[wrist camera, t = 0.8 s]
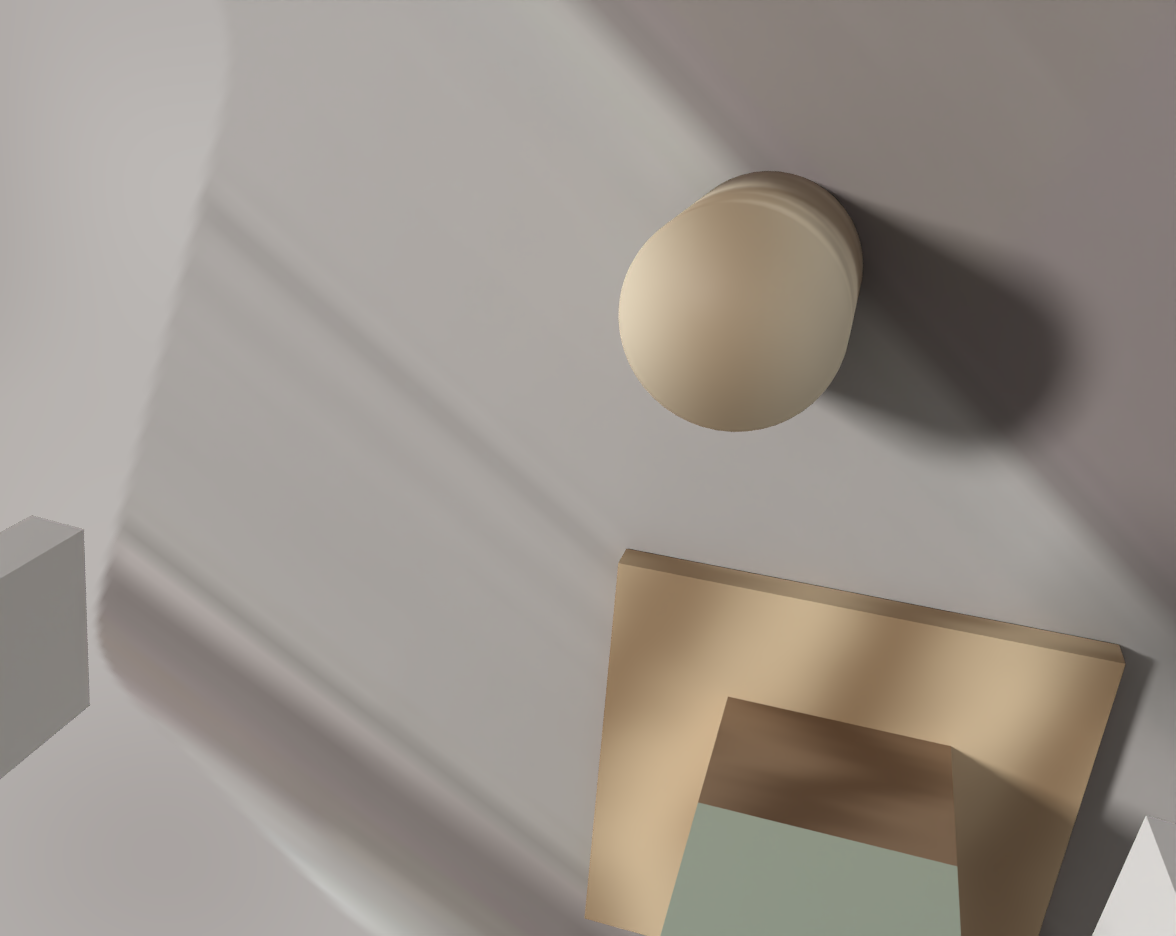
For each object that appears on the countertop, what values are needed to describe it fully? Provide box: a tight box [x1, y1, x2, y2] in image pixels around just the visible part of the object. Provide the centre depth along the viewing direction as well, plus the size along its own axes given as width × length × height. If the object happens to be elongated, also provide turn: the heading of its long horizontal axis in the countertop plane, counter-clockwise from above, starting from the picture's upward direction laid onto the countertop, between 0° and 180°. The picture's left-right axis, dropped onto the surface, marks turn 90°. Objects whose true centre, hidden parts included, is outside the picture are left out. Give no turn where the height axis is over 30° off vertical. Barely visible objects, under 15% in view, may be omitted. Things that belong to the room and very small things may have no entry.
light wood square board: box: [585, 549, 1125, 936], centre depth 33 cm, size 14×14×1 cm
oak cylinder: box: [619, 171, 863, 432], centre depth 26 cm, size 5×5×6 cm
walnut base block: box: [698, 697, 957, 866], centre depth 30 cm, size 6×6×5 cm
